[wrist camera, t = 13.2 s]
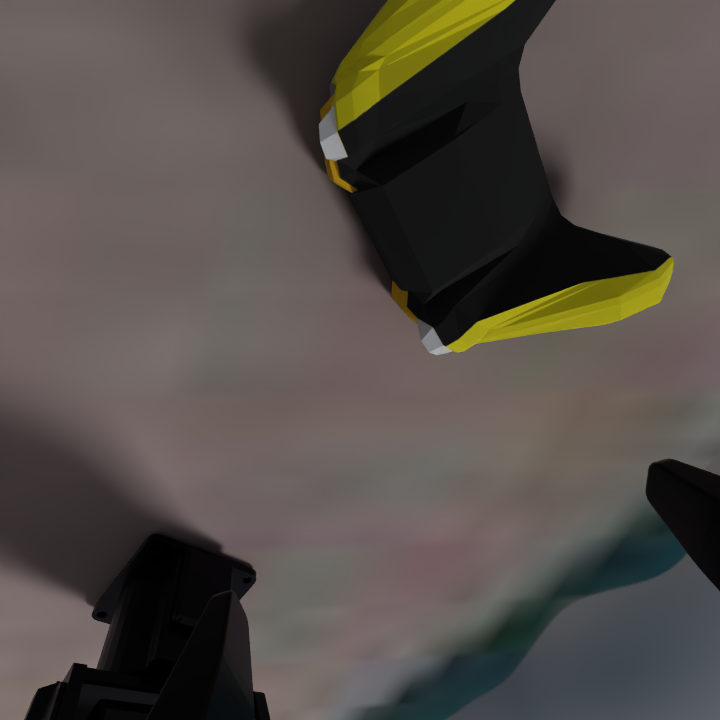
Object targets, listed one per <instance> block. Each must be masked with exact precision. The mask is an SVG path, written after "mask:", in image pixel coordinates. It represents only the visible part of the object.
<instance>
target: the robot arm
mask: <svg viewBox="0 0 720 720" xmlns="http://www.w3.org/2000/svg"><path fill="white" fill-rule="evenodd" d="M646 496H647V499H648V501H649V502H650V504H651V505H652V507H653V508H654V509H655V511H656V512H657V513H658V515H659V516H660V517H661V519H662V520H663V521H664V523H665V524H666V525H667V527H668V528H669V529H670V531H671V532H672V533H673V535H674V536H675V537H676V539H677V540H678V541H679V543H680V544H681V545H682V547H683V548H684V549H685V551H686V552H687V553H688V555H689V556H690V557H691V558H692V560H693V561H694V562H695V563H696V565H697V566H698V567H699V568H700V569H701V571H702V572H703V573H704V574H705V575H706V576H707V578H708V579H709V580H710V581H711V582H712V583H713V584H714V585H715V586H716V588H717V589H718V590H719V591H720V476H719V475H716V474H713V473H711V472H708V471H705V470H702V469H699V468H697V467H694V466H691V465H688V464H685V463H683V462H680V461H677V460H674V459H664V460H660V461H657V462H654V463H652V464H651V465H650V466H649V469H648V476H647V484H646ZM154 543H155V544H159V545H154ZM246 577H248V578H246ZM255 582H256V572H255V570H253V569H251V568H249V567H246V566H243V565H241V564H238V563H235V562H233V561H230V560H227V559H225V558H222V557H219V556H217V555H214V554H211V553H209V552H206V551H203V550H201V549H198V548H195V547H193V546H190V545H187V544H185V543H182V542H179V541H177V540H174V539H171V538H169V537H166V536H163V535H160V534H153V535H150V536H149V537H148V538H147V539H146V540H145V542H144V543H143V544H142V545H141V547H140V548H139V549H138V551H137V552H136V553H135V555H134V556H133V557H132V558H131V560H130V561H129V562H128V564H127V565H126V566H125V567H124V569H123V570H122V571H121V573H120V574H119V575H118V576H117V578H116V579H115V580H114V582H113V583H112V584H111V586H110V587H109V588H108V589H107V591H106V592H105V593H104V595H103V596H102V597H101V598H100V600H99V601H98V602H97V604H96V605H95V607H94V609H93V612H92V617H93V618H94V619H95V620H97V621H101V622H104V623H108V624H110V627H109V630H108V633H107V637H106V640H105V643H104V646H103V649H102V653H101V656H100V659H99V662H98V665H97V669H94V668H87V665H85V664H79V663H73V665H72V666H71V668H70V670H69V672H68V673H67V675H66V677H65V678H64V680H63V682H60V681H57V682H56V683H55V684H52V685H49V686H46V687H42V688H39V689H38V690H37V692H36V694H35V695H34V697H33V699H32V702H31V704H30V707H29V709H28V711H27V714H26V716H25V719H24V720H270V716H269V712H268V707H267V703H266V698H265V694H264V693H262V692H255V691H253V683H252V669H251V655H250V641H249V627H248V621H247V617H246V614H245V612H244V610H243V608H242V605H241V603H240V601H239V600H240V599H241V598H242V597H243V596H244V595H245V593H246V592H247V591H248V590H249V589H250V588H251V587H252V586H253V584H254V583H255Z"/></svg>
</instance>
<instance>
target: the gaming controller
mask: <svg viewBox="0 0 720 720" xmlns="http://www.w3.org/2000/svg"><path fill="white" fill-rule="evenodd" d="M555 1H556V0H387V1H386V2H385V3H384V4H383V5H382V6H381V8H380V9H379V10H378V12H377V13H376V15H375V16H374V17H373V19H372V20H371V21H370V23H369V24H368V26H367V27H366V28H365V30H364V31H363V33H362V34H361V35H360V37H359V38H358V39H357V41H356V42H355V44H354V45H353V46H352V48H351V49H350V50H349V52H348V53H347V55H346V56H345V57H344V59H343V60H342V61H341V63H340V64H339V66H338V68H337V70H336V72H335V74H334V77H333V79H332V81H331V83H330V85H329V87H330V99H329V100H328V101H327V102H326V103H325V105H324V106H323V107H322V108H321V109H320V115H321V122H320V123H319V134H320V143H321V146H322V149H323V151H324V159H325V166H326V170H327V174H328V178H329V180H330V181H332V182H334V183H335V184H337V185H339V186H340V187H342V188H344V189H345V190H346V192H347V194H348V196H349V198H350V199H351V201H352V203H353V205H354V207H355V209H356V211H357V213H358V215H359V217H360V219H361V221H362V223H363V225H364V226H365V228H366V230H367V232H368V234H369V236H370V238H371V240H372V242H373V244H374V246H375V248H376V250H377V252H378V253H379V255H380V257H381V259H382V261H383V263H384V265H385V267H386V269H387V271H388V273H389V275H390V277H391V279H392V292H391V297H392V298H393V300H394V301H395V302H396V303H397V304H398V305H399V307H400V308H401V309H402V310H403V311H404V312H405V313H406V314H407V315H408V317H409V318H410V319H411V320H413V321H414V322H416V323H417V324H418V328H419V333H420V338H421V341H422V343H423V344H424V346H425V347H426V348H427V350H428V351H429V352H430V353H432V354H435V355H440V354H444V353H448V352H452V351H454V352H456V353H457V352H463V351H465V350H467V349H468V348H470V347H471V346H473V345H475V344H477V343H483V342H489V341H495V340H501V339H507V338H514V337H520V336H526V335H532V334H539V333H545V332H552V331H560V330H567V329H575V328H583V327H590V326H598V325H605V324H609V323H612V322H615V321H619V320H622V319H624V318H626V317H629V316H631V315H633V314H635V313H637V312H640V311H642V310H644V309H646V308H648V307H651V306H653V305H655V304H657V303H660V302H661V299H662V297H663V295H664V293H665V290H666V288H667V286H668V284H669V281H670V279H671V275H672V272H673V265H674V260H673V258H672V257H671V256H670V255H669V254H667V253H666V252H665V251H663V250H661V249H658V248H655V247H652V246H648V245H644V244H640V243H636V242H633V241H629V240H625V239H621V238H617V237H613V236H609V235H605V234H601V233H597V232H594V231H591V230H588V229H585V228H581V227H578V226H575V225H574V224H572V223H571V222H570V221H568V220H567V219H565V218H564V217H563V216H561V214H560V212H559V210H558V208H557V206H556V204H555V202H554V200H553V198H552V195H551V191H550V188H549V185H548V181H547V178H546V175H545V171H544V168H543V165H542V161H541V158H540V154H539V151H538V148H537V144H536V141H535V138H534V134H533V131H532V128H531V124H530V121H529V117H528V114H527V111H526V107H525V104H524V101H523V97H522V94H521V89H520V79H519V69H518V68H519V64H520V61H521V57H522V53H523V49H524V45H525V43H526V42H527V40H528V39H529V37H530V36H531V35H532V33H533V32H534V30H535V29H536V28H537V26H538V25H539V23H540V22H541V20H542V19H543V18H544V16H545V15H546V13H547V12H548V11H549V9H550V8H551V6H552V5H553V3H554V2H555Z"/></svg>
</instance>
